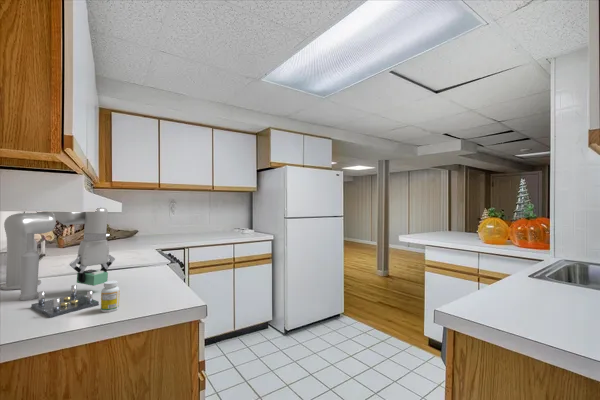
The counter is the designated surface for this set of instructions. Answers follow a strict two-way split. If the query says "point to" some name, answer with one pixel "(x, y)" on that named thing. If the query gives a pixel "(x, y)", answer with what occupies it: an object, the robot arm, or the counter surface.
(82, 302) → the chassis
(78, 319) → the counter surface
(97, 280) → the green rectangular module
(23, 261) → the bottle
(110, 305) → the supplement bottle
